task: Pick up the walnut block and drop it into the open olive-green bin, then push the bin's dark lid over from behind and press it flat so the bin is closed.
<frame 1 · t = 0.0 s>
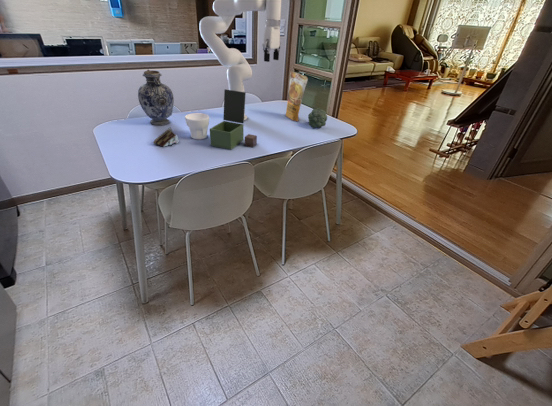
hand: (271, 60, 157), 37 cm above the table, tool pointing down, fingers open, 9 cm apart
block: (250, 145, 151), on the table
bin: (227, 142, 151), on the table
decorative vase: (160, 122, 171), on the table
bin lid: (234, 106, 149), point 17 cm above the table, hinge at 100.0°
cup: (199, 136, 156), on the table
pancake mix bag: (293, 118, 194), on the table
chocolate cake: (168, 144, 145), on the table
vegetable: (315, 126, 183), on the table
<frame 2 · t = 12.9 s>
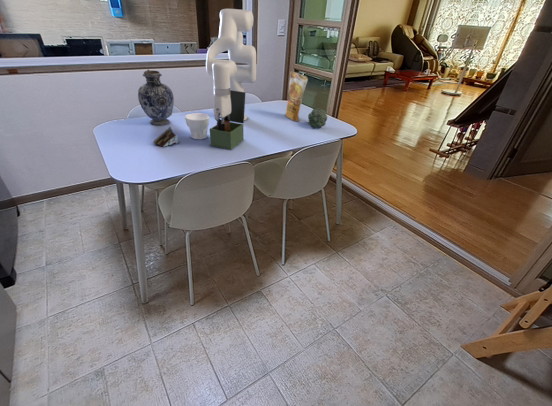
hand: (224, 128, 144), 8 cm above the table, tool pointing down, fingers closed on block, 4 cm apart
block: (223, 131, 145), point 7 cm above the table, touching gripper
bin lid: (234, 106, 149), point 17 cm above the table, hinge at 99.4°
everything else where it was.
when the fingers open (11 cm above the table, at t = 22.6 s): block drops 9 cm, resting on bin.
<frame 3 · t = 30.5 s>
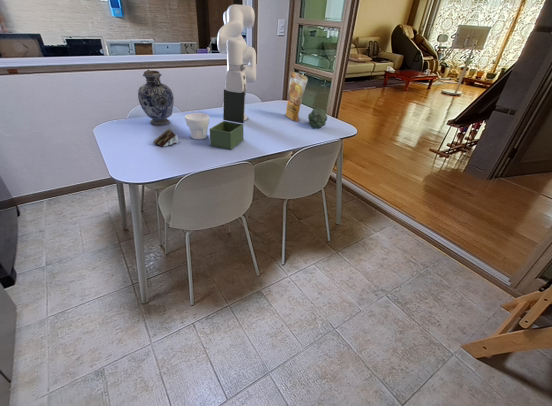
hand: (236, 106, 151), 17 cm above the table, tool pointing down, fingers closed
block: (223, 143, 148), point 1 cm above the table, touching bin
bin lid: (233, 106, 149), point 17 cm above the table, hinge at 97.1°, touching gripper
everything else where it was.
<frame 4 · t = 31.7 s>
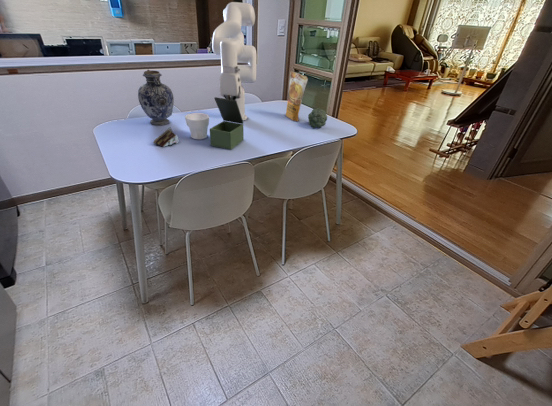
hand: (230, 108, 146), 17 cm above the table, tool pointing down, fingers closed
bin lid: (229, 111, 145), point 16 cm above the table, hinge at 59.1°, touching gripper
everything else where it was.
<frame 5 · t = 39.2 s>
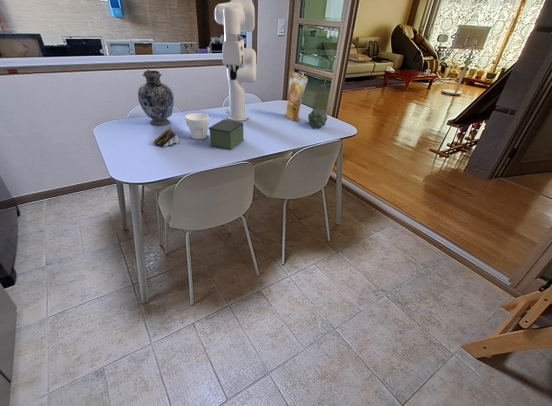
hand: (233, 79, 146), 29 cm above the table, tool pointing down, fingers closed
bin lid: (226, 125, 146), point 9 cm above the table, hinge at 0.2°
everything else where it was.
at the end: block inside the target area in the bin (3.9 cm from its centre), point 0.8 cm above the bin's base; bin lid at +0° (first picture: +100°) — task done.
